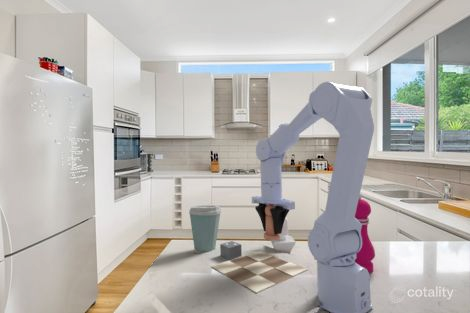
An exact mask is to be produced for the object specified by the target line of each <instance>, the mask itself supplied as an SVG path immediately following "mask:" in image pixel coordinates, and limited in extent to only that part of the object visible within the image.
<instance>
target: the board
mask: <svg viewBox="0 0 470 313" xmlns="http://www.w3.org/2000/svg"><path fill="white" fill-rule="evenodd" d="M210 267H211V268H212V269H214V270H215V271H217V272H218V273H220V274H223V275H224V276H226V277H227V278H228V279H230V280H233V281H234V282H236V283H238V284H239V285H241V286H243V287H244V288H246V289H248V290H250V291H251V292H252V293H255V294H259V293H261V292H263V291H265V290H267V289H269V288H272V287H274V286H276V285H278V284H280V283H283V282H285V281H287V280H290V279H291V278H294V277H296V276H298V275H300V274H303V273H304V272H307V271H308V270H309V269H308V268H307V267H303V266H301V265H299V264H295V263H293V262H291V261H286V260H283V259H281V258H278V257H276V256H274V255H273V254H269V253H267V252H265V251H262V250H258V251H255V252H252V253H249V254H245V255H244V256H240V257H237V258H234V259H231V260H227V261H226V260H225V261H223V262H221V263H218V264H214V265H212V266H210Z"/></svg>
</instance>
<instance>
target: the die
mask: <svg viewBox="0 0 470 313" xmlns="http://www.w3.org/2000/svg"><path fill="white" fill-rule="evenodd" d="M219 244H220V245H219V246H220V247H219V248H220V250H219V251H220V252H219V253H220V256H221V257H223V258H225V259H226V260H227V261H231V260H234V259H237V258H241V257H243V256H242V244H241V243H238V242H236V241H233V240H231V241H228V242H224V243H219Z"/></svg>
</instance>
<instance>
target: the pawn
mask: <svg viewBox="0 0 470 313" xmlns="http://www.w3.org/2000/svg"><path fill="white" fill-rule="evenodd" d="M271 208H275V206H274V205H272V204H268V205H267V206H266V208H265V213H266V232H265V231H264V233H263V238H264V239H265V240H269V241H271V240H277V239H280V234H277V235H276V234H274V226H273V218H272V215H271V212H270V209H271Z"/></svg>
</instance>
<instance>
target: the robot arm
mask: <svg viewBox="0 0 470 313" xmlns="http://www.w3.org/2000/svg"><path fill="white" fill-rule="evenodd" d="M372 103H373V97H372V96H371V95H370V94H369V93H368V91H366V89H364V88H363V87H362V86H361V87H360V86H351V85H350V86H349V85H344V84H338V83H333V82H331V81H325V82H321V83H319V84H318V85H317V87H316V88H314V90H313V91H312V92H310V94H309V97H308V102H307V103H306V105H305V106H303V108H302V109H301V110H300V111H299V112H298V113H297V115H295V117H294V118H293V119H292V120H291V122H289V123H281V124H280V125H279V126H278V127H277V129H276V130H275V131H274V132H273V133H272V134H270V136H269V137H268V138H261V139H259V140H258V142H257V144H256V145H255V146H256V147H255V153H256V157H257V159H258V160H259V163H260V194H261V195H260V196H259V195H254V196H251V204H258V205H256V206H255V207H254V208H255V211H256V213H257V214H258V217H259V219H260V222H261V224H262V229H263V232H264V233H265V232H266V213H265V208H266V206H267V205H268V204H272V205H274V206H275V208H271V209H270V212H271V215H272V218H273V226H274V234H276V235H277V234H281V232H282V228H283V224H284V221H285V218H287V215H288V214H289V212H290V211H291V210H295V209H296V202H295V201H294V200H289V199H285V198H283V185H282V184H283V182H282V179H283V178H282V176H283V175H282V167H283V165H284V159H285V156H286V152H287V151H288V150H289V149H290V148H292V147H293V146H294V145H296V144H297V143H298V141H299V140H300V134H302V133H303V132H304V131H306V130H308V129H309V128H310V127H311V126H313V125H314V124H315V123H317V122H318V121H319V120H321V119H324V120H325V121H326V122H327V123H329V124H331V125H332V126H333V128H334V129H335V130H336V131H337V133H338V135H339V138H338V143H337V148H336V151H335V152H336V153H335V158H334V163H333V168H332V174H331V178H330V184H329V187H328V188H329V189H328V194H327V200H326V205H325V209H324V211H323V212H322V213H321V214H319V216H318V217H317V219H315V220H314V223H313V224H314V225H313V227H312V230H311V231H310V232H309V234H308V236H307V246H308V249H309V252H310V253H311V255H312V257H313V260H316V275H317V276H316V277H317V278H316V280H317V298H318V300H319V301H320V303H319V304H317V306H318V307H319V308H321V309H323V310H326V311H327V312H330V313H367V312H369V311H370V310H371V309H372V308H373V304H372V301H371V300H372V299H371V298H372V297H371V276H370V273H369V272H368V270H367V269H365V268H364V267H361V266H360V265H358V264H357V263H356V262H355V259H356V253H358V252H359V251H360V250H361V248H362V237H361V227H362V224H361V223H360V222H359V221H358V220H357V219H356V218H355V213H356V209H357V204H358V200H359V195H360V194H361V190H362V185H363V182H364V178H365V177H364V176H365V172H366V168H367V162H368V159H369V155H370V154H369V153H370V150H371V145H372V141H373V136H374V131H375V125H374V124H375V123H374V121H373V115H372V110H371V108H372Z"/></svg>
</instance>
